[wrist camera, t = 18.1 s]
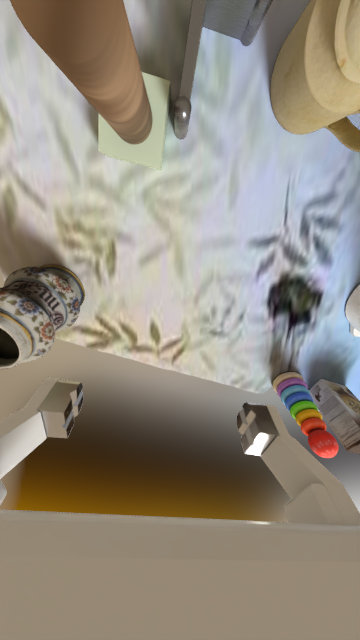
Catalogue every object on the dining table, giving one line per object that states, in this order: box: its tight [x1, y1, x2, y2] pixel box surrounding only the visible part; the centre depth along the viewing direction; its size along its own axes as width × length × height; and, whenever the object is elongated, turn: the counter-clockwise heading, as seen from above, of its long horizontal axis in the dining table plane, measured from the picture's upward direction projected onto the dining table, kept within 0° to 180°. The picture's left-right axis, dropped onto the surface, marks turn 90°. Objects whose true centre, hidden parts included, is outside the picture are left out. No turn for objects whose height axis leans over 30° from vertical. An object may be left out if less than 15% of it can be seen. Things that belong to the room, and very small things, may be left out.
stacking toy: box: [273, 372, 338, 458], centre depth 47 cm, size 8×8×19 cm
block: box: [98, 72, 171, 170], centre depth 26 cm, size 8×8×4 cm
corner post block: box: [174, 0, 272, 139], centre depth 22 cm, size 8×12×8 cm, turn 168°
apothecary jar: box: [0, 265, 85, 369], centre depth 32 cm, size 12×12×18 cm
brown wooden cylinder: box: [10, 0, 153, 145], centre depth 16 cm, size 5×5×18 cm
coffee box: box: [309, 379, 360, 454], centre depth 50 cm, size 9×6×16 cm
